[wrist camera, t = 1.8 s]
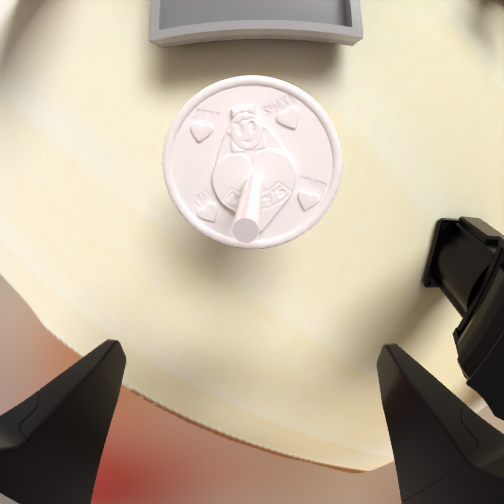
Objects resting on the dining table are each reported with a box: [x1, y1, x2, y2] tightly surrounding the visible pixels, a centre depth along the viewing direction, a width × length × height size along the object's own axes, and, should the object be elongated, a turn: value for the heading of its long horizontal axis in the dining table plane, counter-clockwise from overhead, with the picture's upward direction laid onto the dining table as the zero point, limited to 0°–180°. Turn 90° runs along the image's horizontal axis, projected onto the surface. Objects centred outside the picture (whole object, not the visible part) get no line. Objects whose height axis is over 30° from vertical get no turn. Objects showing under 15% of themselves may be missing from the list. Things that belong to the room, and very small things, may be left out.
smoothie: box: [162, 75, 343, 249], centre depth 12 cm, size 6×6×14 cm
